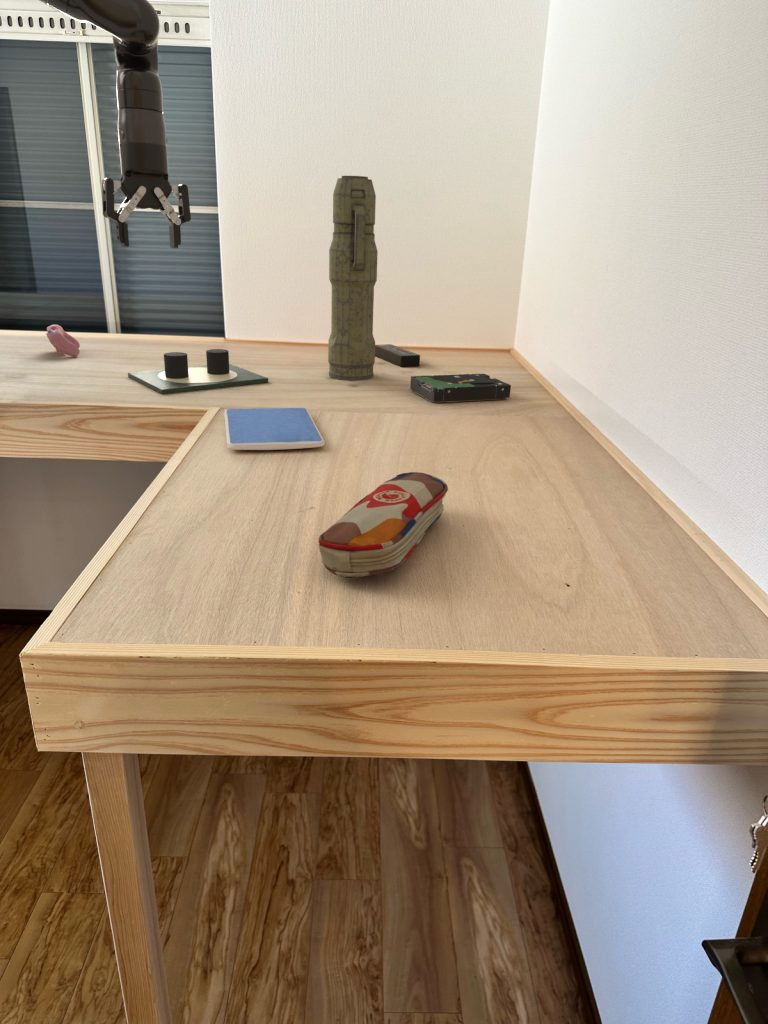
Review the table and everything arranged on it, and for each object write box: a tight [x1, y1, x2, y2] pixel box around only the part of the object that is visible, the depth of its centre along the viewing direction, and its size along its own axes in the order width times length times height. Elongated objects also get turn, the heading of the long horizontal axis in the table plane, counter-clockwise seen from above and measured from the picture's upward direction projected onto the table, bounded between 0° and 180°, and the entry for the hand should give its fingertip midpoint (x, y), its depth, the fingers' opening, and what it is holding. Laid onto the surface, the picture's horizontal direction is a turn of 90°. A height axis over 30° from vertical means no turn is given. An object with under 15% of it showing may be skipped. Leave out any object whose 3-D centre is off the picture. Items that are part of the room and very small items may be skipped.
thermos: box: [327, 175, 378, 381], centre depth 134 cm, size 9×12×35 cm
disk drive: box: [409, 373, 512, 403], centre depth 127 cm, size 10×3×15 cm
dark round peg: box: [163, 351, 189, 379], centre depth 129 cm, size 4×4×4 cm
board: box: [127, 363, 269, 395], centre depth 132 cm, size 20×16×1 cm
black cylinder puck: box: [205, 348, 230, 375], centre depth 133 cm, size 4×4×4 cm
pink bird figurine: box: [45, 324, 81, 357], centre depth 151 cm, size 10×5×7 cm, turn 21°
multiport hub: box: [375, 343, 421, 368], centre depth 157 cm, size 4×14×2 cm, turn 25°
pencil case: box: [318, 471, 449, 580], centre depth 67 cm, size 11×20×5 cm, turn 146°
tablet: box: [223, 407, 326, 451], centre depth 101 cm, size 19×13×1 cm, turn 13°
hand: (150, 247), depth 125 cm, fingers open, 8 cm apart
